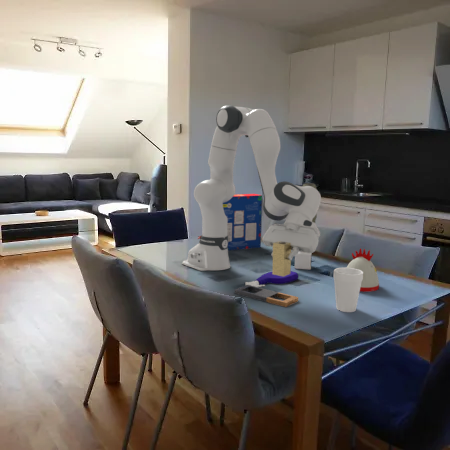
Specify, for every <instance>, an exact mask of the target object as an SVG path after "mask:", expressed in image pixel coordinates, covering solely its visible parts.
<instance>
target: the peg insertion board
mask: <svg viewBox="0 0 450 450" xmlns="http://www.w3.org/2000/svg"><path fill="white" fill-rule="evenodd" d="M249 291H251V292H249ZM234 295H239V296H243V297H246V298H251V299H254V300H258V301H262V302H265V303H269V304H272V305H277V306H281V307H284V308H287V307H289V306H291V305H294V304H296V303H297V302H299V297H298V296H294V295H291V294H286V293H282V292H279V291H275V290H270V289H266V288H262V287H255V286H251V285H243V286H239V287H238V288H235V289H234ZM277 298H280V299H277ZM281 299H283V300H281Z"/></svg>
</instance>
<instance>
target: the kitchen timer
mask: <svg viewBox="0 0 450 450" xmlns="http://www.w3.org/2000/svg"><path fill="white" fill-rule="evenodd" d="M354 252H355V255H354V253H353V252H352V253H351V256H352V258H353V259H352V260H351V261H350V262H349V263H348V265H347V266H346V267H345V268H354V269H358V270H361V271H362V272H363V280H362V282H361V287H360V292H369V293H370V292H375V291H377V290H379V287H380V280H379V276H378V273H377V268H376V267H375V265H374V264H373V262H372V261H371V259H372V258H373V257H374V253H372V254H371V249H369V250H367V253H366V249H365V248H364V249H363V252H362V248H360V249H359V251H358V250H355V251H354Z"/></svg>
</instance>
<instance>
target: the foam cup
mask: <svg viewBox="0 0 450 450" xmlns="http://www.w3.org/2000/svg"><path fill="white" fill-rule="evenodd" d="M333 280H334V281H333V283H334V293H335V306H336V309H337V310H338V311H339V310H340V312H343V313H353V312H356V310H357V306H358V301H359V296H360V292H361V291H360V287H361V282H362V280H363V272H362V271H361V270H358V269H354V268H346V267H337V268H335V269H334V270H333Z"/></svg>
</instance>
